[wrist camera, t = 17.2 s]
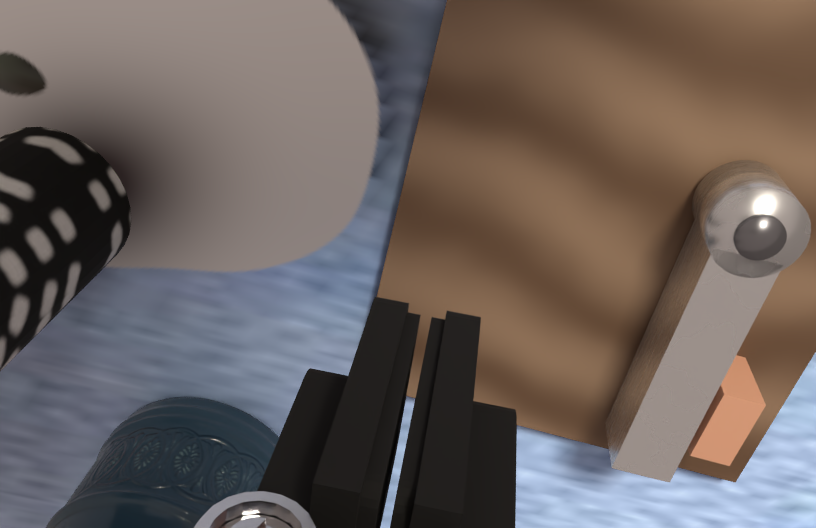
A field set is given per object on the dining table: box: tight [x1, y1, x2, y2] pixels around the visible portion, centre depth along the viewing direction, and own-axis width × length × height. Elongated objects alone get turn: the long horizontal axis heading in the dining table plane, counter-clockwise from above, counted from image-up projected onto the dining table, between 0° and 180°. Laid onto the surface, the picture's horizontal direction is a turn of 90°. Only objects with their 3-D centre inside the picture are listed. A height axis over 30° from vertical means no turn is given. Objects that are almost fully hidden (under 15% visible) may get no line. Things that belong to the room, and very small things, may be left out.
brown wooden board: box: [377, 0, 816, 482], centre depth 35 cm, size 32×22×1 cm
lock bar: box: [605, 160, 811, 482], centre depth 36 cm, size 16×4×4 cm, turn 168°
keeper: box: [688, 355, 766, 466], centre depth 38 cm, size 4×2×4 cm, turn 168°
